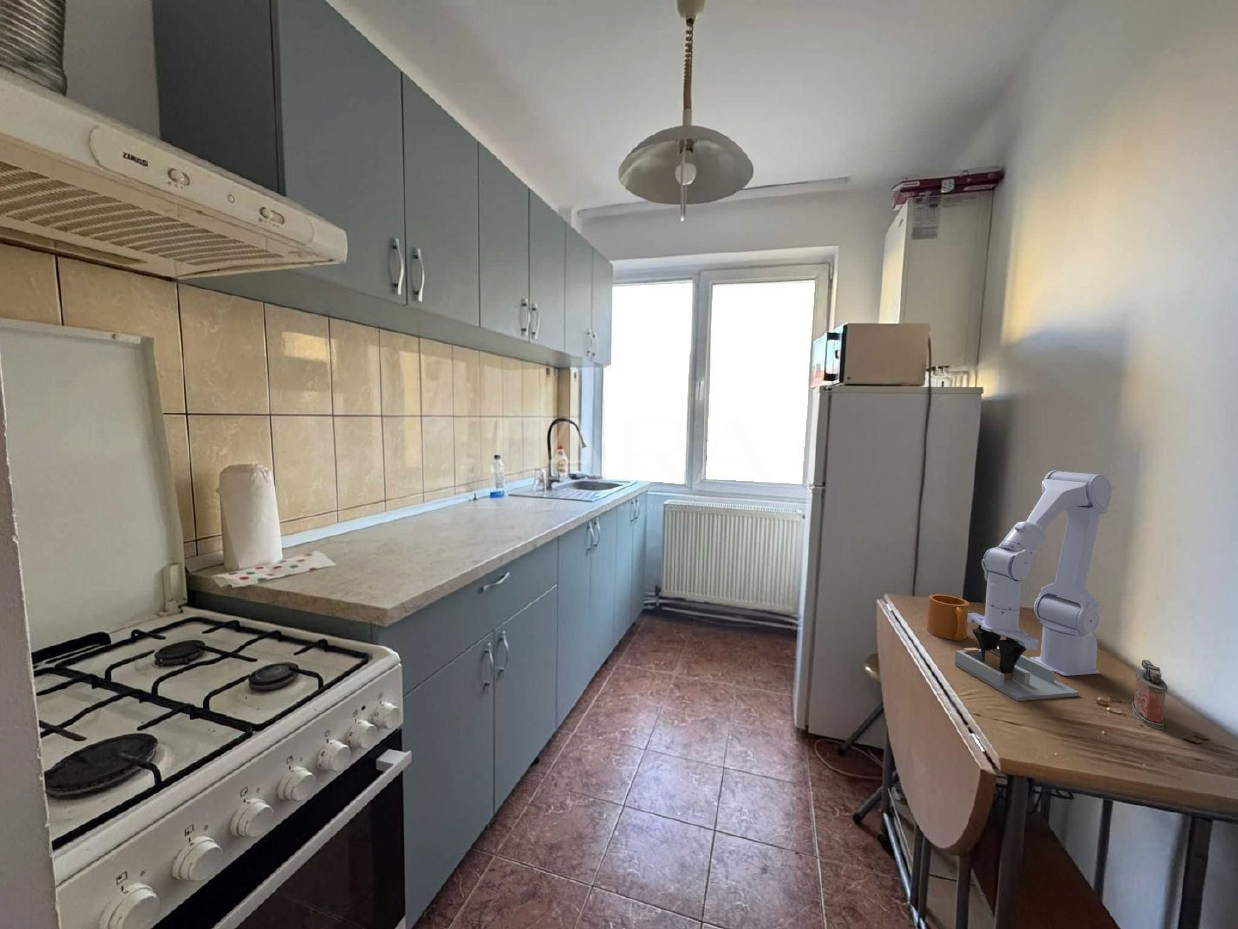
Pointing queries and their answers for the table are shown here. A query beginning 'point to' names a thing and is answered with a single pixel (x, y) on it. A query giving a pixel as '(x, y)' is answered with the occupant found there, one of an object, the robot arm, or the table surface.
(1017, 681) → the socket board
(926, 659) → the table surface
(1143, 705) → the lighter
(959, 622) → the mug
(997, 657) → the plug
